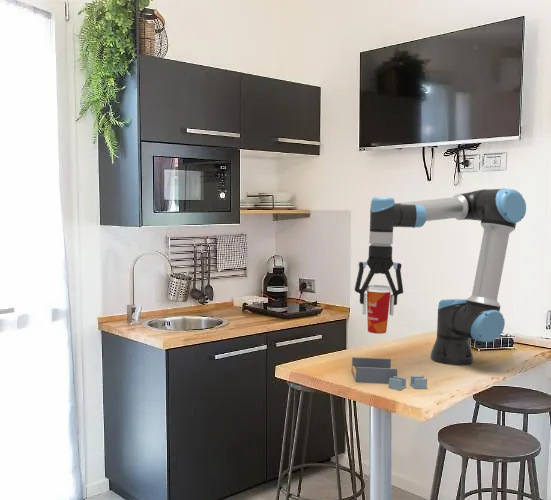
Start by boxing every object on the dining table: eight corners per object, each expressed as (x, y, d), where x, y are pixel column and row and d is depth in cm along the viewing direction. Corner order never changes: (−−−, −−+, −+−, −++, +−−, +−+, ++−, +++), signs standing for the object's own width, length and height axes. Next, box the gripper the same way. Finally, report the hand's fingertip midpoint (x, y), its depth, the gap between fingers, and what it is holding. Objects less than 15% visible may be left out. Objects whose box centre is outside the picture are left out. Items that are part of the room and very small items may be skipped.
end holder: (389, 372, 206) (390, 358, 206) (396, 384, 192) (397, 369, 192) (351, 371, 206) (352, 357, 206) (355, 382, 193) (356, 367, 193)
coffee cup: (361, 329, 202) (363, 284, 201) (385, 329, 202) (387, 284, 201) (367, 334, 193) (369, 287, 192) (393, 334, 194) (395, 288, 193)
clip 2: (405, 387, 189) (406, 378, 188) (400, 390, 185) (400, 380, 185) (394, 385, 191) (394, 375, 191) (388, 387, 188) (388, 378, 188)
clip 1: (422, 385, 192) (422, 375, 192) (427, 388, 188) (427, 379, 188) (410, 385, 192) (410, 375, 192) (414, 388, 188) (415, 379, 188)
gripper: (410, 245, 200) (407, 313, 201) (347, 243, 200) (344, 311, 201) (415, 246, 192) (412, 317, 194) (349, 244, 192) (346, 315, 194)
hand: (377, 314), depth 198 cm, fingers closed on coffee cup, 8 cm apart
